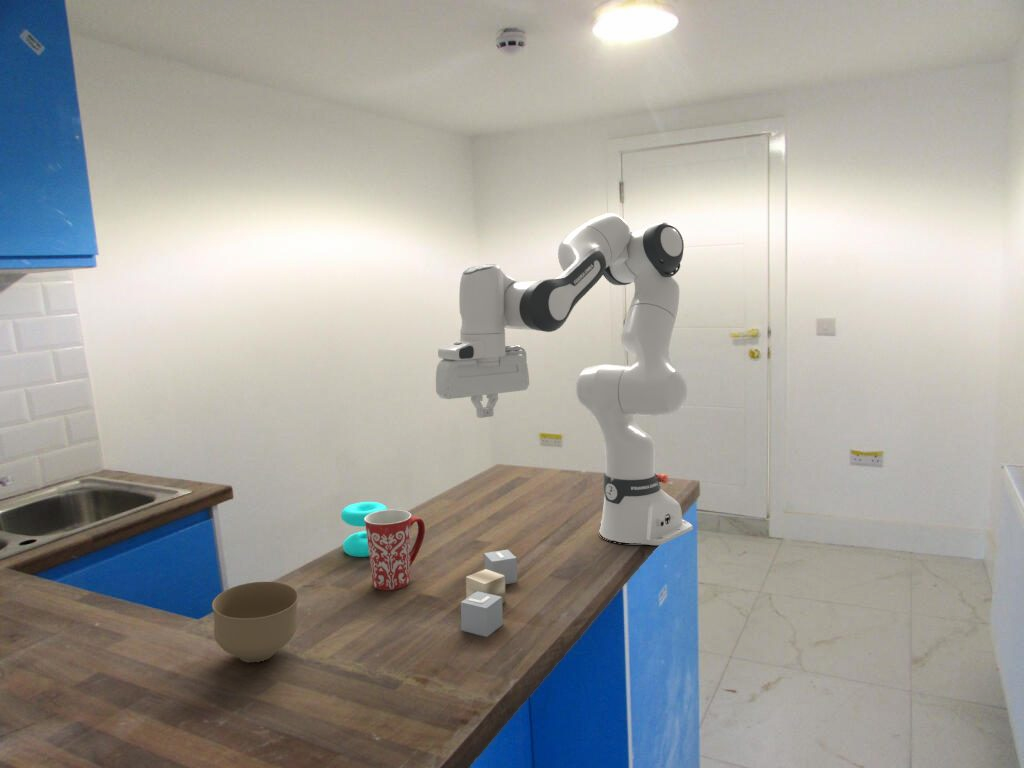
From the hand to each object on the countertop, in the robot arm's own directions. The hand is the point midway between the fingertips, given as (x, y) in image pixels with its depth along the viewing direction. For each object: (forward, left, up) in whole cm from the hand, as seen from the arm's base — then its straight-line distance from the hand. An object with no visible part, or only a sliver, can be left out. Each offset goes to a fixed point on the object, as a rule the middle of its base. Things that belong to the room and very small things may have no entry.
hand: (485, 416), depth 144 cm
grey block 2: (+2, +7, -31) cm, 32 cm away
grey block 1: (+16, +22, -31) cm, 41 cm away
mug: (+18, -5, -31) cm, 36 cm away
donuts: (+16, -25, -31) cm, 43 cm away
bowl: (+49, +9, -31) cm, 59 cm away
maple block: (+10, +14, -31) cm, 36 cm away
